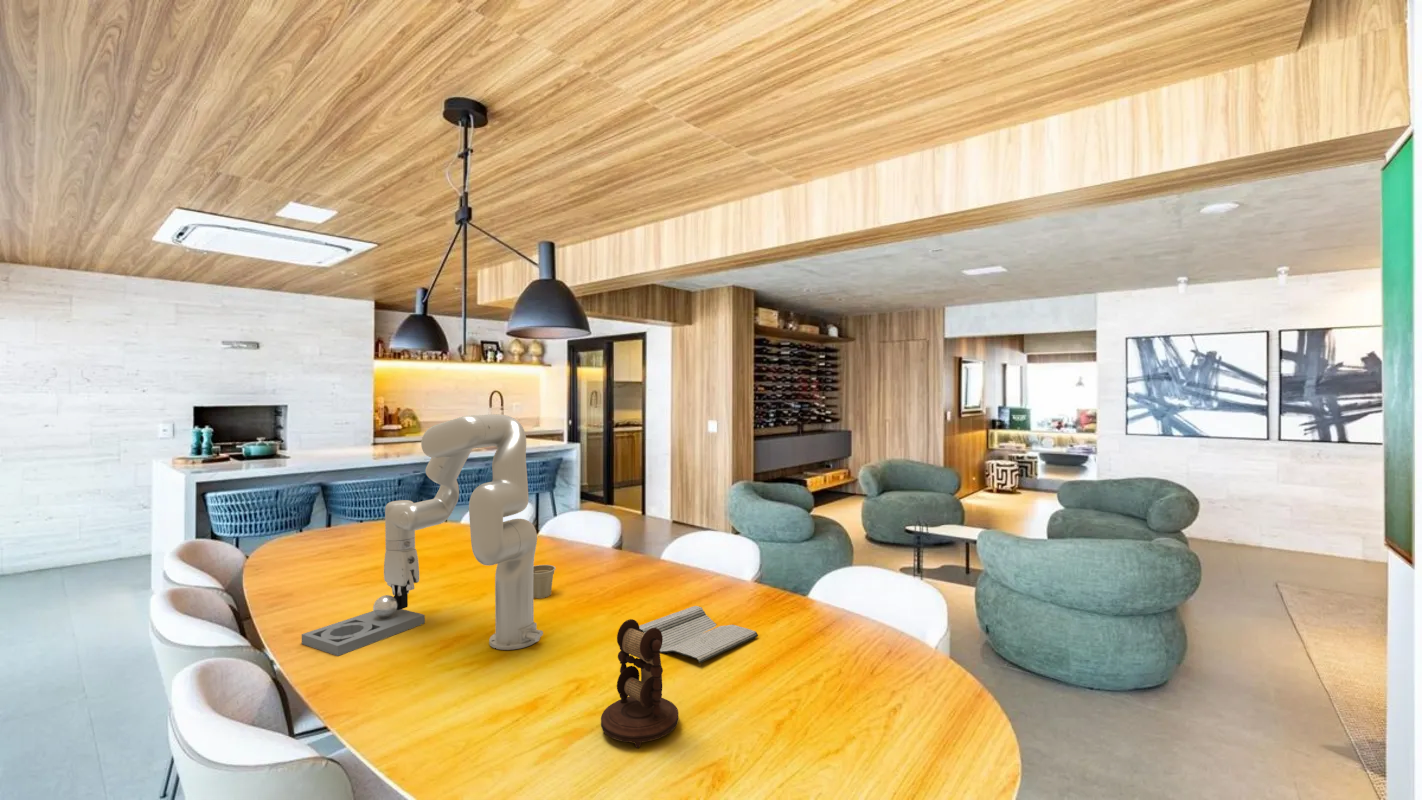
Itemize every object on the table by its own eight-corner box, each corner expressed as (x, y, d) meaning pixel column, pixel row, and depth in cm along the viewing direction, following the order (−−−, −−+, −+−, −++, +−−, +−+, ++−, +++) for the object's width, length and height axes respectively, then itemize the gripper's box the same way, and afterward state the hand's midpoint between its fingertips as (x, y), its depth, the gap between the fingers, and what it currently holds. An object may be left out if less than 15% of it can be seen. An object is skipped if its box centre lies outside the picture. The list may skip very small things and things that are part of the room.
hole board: (424, 623, 169) (424, 614, 169) (337, 656, 148) (337, 645, 148) (389, 614, 176) (389, 605, 176) (301, 643, 155) (301, 634, 155)
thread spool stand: (694, 725, 115) (693, 622, 115) (636, 760, 104) (635, 646, 104) (643, 700, 125) (642, 605, 125) (585, 730, 114) (584, 625, 114)
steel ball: (403, 614, 169) (401, 593, 168) (383, 622, 163) (380, 601, 163) (389, 611, 171) (387, 590, 171) (369, 619, 166) (367, 598, 166)
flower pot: (537, 602, 186) (537, 574, 186) (519, 596, 191) (519, 569, 191) (561, 594, 193) (561, 567, 193) (543, 589, 199) (543, 563, 199)
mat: (699, 671, 140) (699, 650, 140) (632, 644, 155) (632, 626, 155) (758, 640, 157) (758, 622, 157) (693, 619, 172) (692, 602, 172)
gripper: (429, 544, 171) (429, 608, 171) (396, 538, 178) (396, 600, 178) (404, 550, 164) (405, 617, 164) (371, 544, 171) (372, 608, 172)
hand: (400, 608), depth 171 cm, fingers closed
